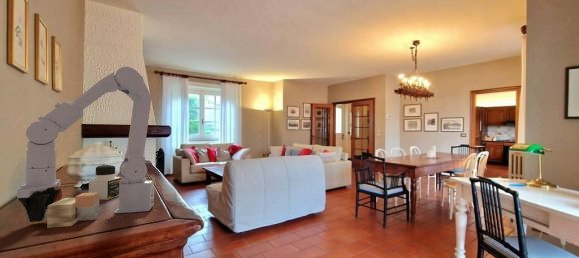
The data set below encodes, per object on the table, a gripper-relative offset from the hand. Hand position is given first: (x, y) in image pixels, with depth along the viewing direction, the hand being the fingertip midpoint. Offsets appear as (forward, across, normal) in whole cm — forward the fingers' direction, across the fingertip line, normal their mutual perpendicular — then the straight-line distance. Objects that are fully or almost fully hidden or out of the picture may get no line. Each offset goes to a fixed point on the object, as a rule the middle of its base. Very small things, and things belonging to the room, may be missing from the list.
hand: (40, 219), depth 68 cm
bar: (0, 0, +5) cm, 5 cm away
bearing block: (+1, 0, +6) cm, 6 cm away
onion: (+2, -18, -7) cm, 19 cm away
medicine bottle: (+2, -28, +6) cm, 29 cm away
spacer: (-3, 0, +10) cm, 11 cm away
